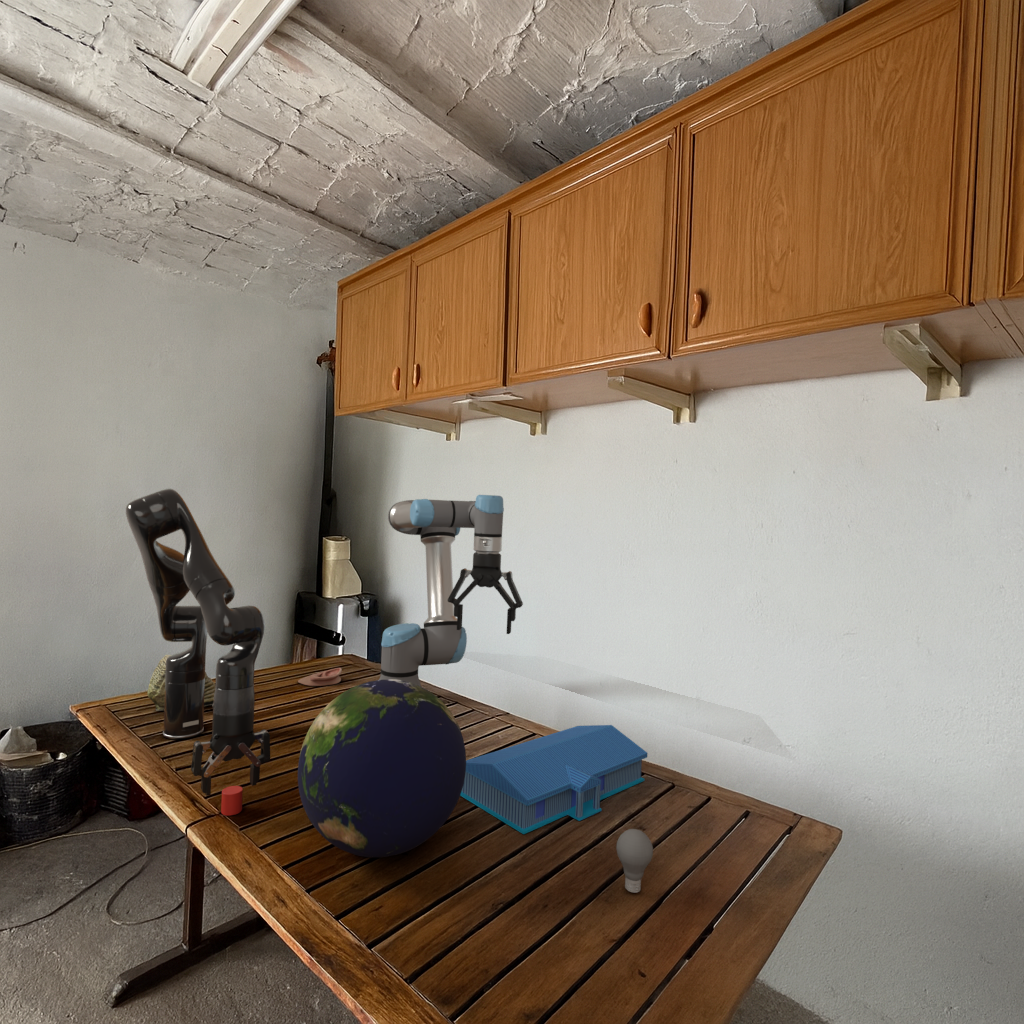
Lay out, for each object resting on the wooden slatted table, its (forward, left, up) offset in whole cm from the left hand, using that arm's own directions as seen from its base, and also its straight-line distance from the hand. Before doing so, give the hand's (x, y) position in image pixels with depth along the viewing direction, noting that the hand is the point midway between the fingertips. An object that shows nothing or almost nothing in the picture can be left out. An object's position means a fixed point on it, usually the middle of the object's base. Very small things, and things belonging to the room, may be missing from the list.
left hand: (230, 788), depth 126 cm
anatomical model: (-71, +54, -5) cm, 89 cm away
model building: (+34, +59, -5) cm, 69 cm away
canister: (0, 0, -5) cm, 5 cm away
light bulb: (+67, +42, -5) cm, 79 cm away
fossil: (-70, +12, -5) cm, 72 cm away
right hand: (0, +65, +24) cm, 70 cm away
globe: (+29, +16, -5) cm, 34 cm away
